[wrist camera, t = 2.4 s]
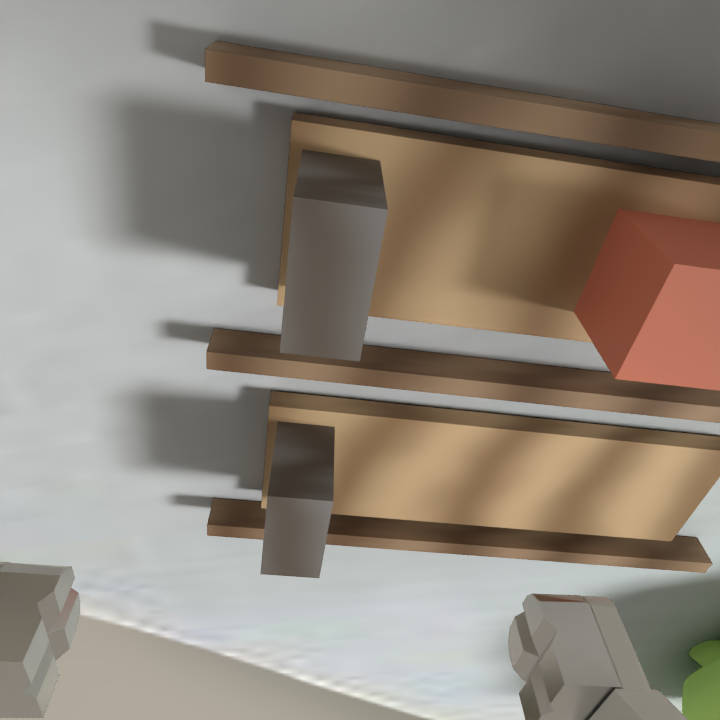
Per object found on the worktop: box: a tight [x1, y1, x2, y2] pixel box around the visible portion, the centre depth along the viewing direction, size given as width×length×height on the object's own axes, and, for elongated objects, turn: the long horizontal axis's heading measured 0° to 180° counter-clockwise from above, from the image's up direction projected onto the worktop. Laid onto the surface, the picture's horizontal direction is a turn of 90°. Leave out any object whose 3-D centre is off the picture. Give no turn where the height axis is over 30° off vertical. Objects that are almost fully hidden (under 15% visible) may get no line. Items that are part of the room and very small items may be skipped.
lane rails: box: [205, 41, 720, 573], centre depth 29 cm, size 32×26×2 cm
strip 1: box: [277, 112, 720, 361], centre depth 24 cm, size 26×8×6 cm, turn 81°
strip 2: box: [261, 391, 720, 578], centre depth 32 cm, size 26×8×6 cm, turn 81°
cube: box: [574, 208, 720, 391], centre depth 23 cm, size 5×5×5 cm
